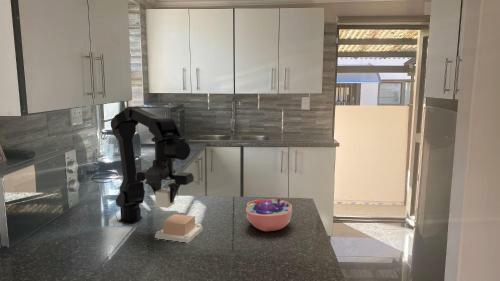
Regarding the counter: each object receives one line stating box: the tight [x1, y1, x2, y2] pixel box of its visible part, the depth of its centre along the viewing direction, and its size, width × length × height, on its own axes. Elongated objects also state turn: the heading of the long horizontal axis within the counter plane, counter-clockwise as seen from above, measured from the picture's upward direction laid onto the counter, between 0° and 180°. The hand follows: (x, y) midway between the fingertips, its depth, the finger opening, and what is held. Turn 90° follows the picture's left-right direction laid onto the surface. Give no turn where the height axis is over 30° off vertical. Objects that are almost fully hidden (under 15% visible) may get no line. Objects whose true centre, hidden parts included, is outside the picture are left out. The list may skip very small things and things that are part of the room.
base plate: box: [154, 213, 204, 244], centre depth 127 cm, size 12×12×6 cm
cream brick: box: [154, 187, 175, 209], centre depth 124 cm, size 4×4×5 cm
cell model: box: [245, 198, 293, 232], centre depth 134 cm, size 17×20×11 cm
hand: (165, 202), depth 124 cm, fingers closed on cream brick, 4 cm apart
